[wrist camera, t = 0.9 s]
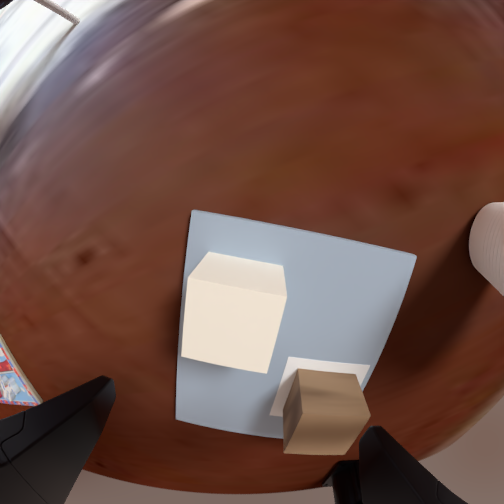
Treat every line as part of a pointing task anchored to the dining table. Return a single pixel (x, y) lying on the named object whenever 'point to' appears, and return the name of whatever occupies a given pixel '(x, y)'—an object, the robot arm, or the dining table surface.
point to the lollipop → (45, 0)
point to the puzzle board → (14, 381)
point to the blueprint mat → (292, 318)
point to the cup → (489, 244)
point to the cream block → (233, 312)
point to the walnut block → (323, 413)
